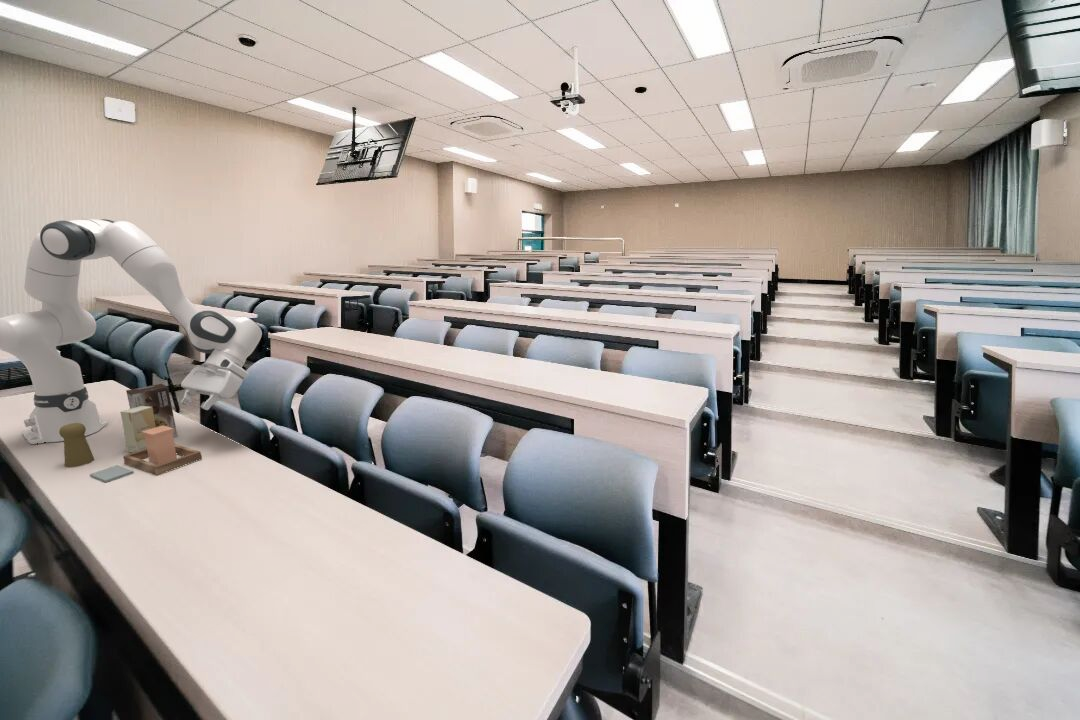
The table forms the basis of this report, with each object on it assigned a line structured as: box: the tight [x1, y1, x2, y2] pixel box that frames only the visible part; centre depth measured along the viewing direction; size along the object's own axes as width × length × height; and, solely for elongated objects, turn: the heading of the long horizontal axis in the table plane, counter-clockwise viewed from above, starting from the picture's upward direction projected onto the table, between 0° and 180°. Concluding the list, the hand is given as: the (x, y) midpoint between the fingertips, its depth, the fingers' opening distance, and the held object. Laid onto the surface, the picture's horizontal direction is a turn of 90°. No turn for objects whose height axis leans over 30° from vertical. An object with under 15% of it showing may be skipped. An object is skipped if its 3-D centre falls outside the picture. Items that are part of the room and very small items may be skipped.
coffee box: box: [126, 383, 178, 438], centre depth 151 cm, size 9×6×16 cm
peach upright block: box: [142, 425, 178, 465], centre depth 135 cm, size 5×5×9 cm
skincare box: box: [120, 406, 156, 453], centre depth 144 cm, size 6×4×12 cm
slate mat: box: [89, 464, 135, 483], centre depth 129 cm, size 8×6×1 cm
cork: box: [59, 423, 95, 468], centre depth 135 cm, size 6×6×11 cm
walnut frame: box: [123, 443, 203, 476], centre depth 136 cm, size 16×11×2 cm
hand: (193, 406), depth 142 cm, fingers open, 8 cm apart
